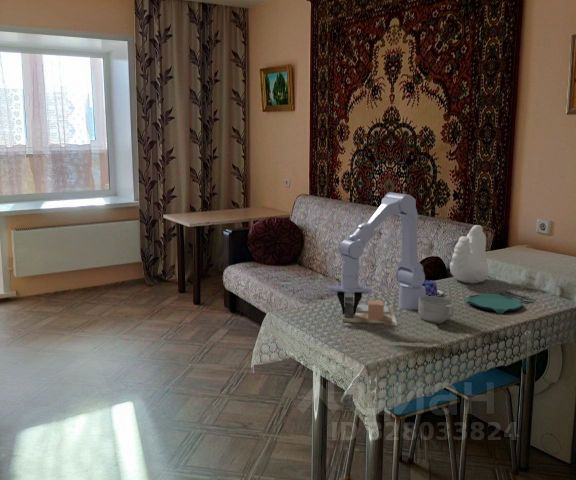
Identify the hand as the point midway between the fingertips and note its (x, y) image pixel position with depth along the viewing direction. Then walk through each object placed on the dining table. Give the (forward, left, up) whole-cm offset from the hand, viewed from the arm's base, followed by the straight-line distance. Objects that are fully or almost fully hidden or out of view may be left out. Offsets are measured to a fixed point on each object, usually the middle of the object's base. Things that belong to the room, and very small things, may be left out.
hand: (348, 313), depth 198 cm
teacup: (-30, -3, -3) cm, 30 cm away
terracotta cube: (-9, 0, -1) cm, 9 cm away
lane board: (-7, -5, -3) cm, 9 cm away
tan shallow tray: (-6, 0, -2) cm, 6 cm away
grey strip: (-6, -10, -2) cm, 12 cm away
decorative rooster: (-50, -60, -3) cm, 78 cm away
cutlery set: (-59, -29, -4) cm, 66 cm away
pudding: (-32, -40, -3) cm, 51 cm away
